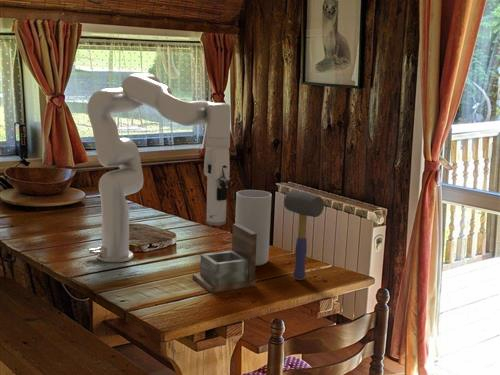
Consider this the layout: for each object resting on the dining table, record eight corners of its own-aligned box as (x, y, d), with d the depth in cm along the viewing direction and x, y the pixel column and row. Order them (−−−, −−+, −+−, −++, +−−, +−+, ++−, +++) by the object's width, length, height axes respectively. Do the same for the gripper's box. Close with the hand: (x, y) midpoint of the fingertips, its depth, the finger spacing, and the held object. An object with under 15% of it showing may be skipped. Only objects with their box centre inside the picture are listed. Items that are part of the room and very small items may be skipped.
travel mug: (211, 226, 208) (213, 164, 203) (203, 221, 213) (204, 161, 209) (229, 224, 210) (231, 163, 206) (220, 219, 216) (222, 160, 212)
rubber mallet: (278, 276, 223) (282, 190, 216) (292, 271, 228) (297, 187, 222) (306, 286, 214) (312, 197, 208) (320, 281, 219) (326, 194, 213)
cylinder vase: (228, 263, 234) (230, 194, 229) (241, 253, 246) (244, 188, 241) (260, 268, 230) (264, 199, 225) (273, 258, 241) (276, 192, 236)
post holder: (210, 292, 205) (212, 238, 202) (192, 278, 217) (194, 227, 214) (255, 285, 213) (257, 234, 209) (235, 272, 225) (237, 223, 221)
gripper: (196, 139, 212) (195, 193, 216) (219, 146, 197) (217, 204, 201) (217, 138, 216) (215, 191, 219) (241, 145, 201) (239, 202, 204)
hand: (216, 197), depth 210 cm, fingers closed on travel mug, 6 cm apart
